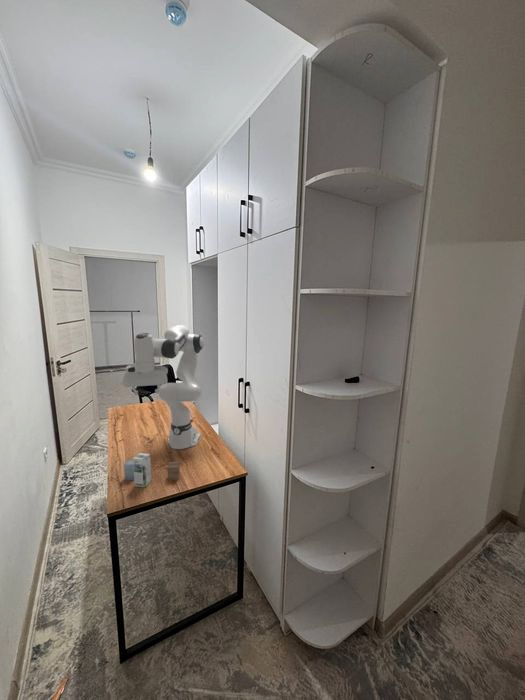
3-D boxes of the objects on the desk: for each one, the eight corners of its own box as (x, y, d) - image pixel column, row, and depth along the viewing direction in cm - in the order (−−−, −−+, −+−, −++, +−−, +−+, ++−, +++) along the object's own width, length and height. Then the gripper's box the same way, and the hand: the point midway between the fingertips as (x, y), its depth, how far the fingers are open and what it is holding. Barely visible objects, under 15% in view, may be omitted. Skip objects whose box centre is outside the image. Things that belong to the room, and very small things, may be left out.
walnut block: (169, 474, 148) (168, 462, 146) (179, 474, 148) (179, 461, 147) (167, 480, 143) (167, 467, 142) (178, 479, 144) (177, 466, 142)
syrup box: (134, 486, 138) (132, 458, 135) (141, 479, 143) (139, 452, 141) (145, 487, 137) (143, 459, 135) (151, 480, 143) (150, 453, 140)
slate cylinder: (128, 474, 147) (128, 459, 146) (137, 475, 147) (136, 461, 145) (122, 480, 143) (121, 465, 141) (131, 481, 142) (130, 466, 140)
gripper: (167, 364, 147) (168, 390, 149) (123, 366, 141) (125, 393, 143) (167, 367, 141) (168, 394, 143) (121, 369, 135) (123, 397, 137)
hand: (146, 393), depth 143 cm, fingers open, 8 cm apart
